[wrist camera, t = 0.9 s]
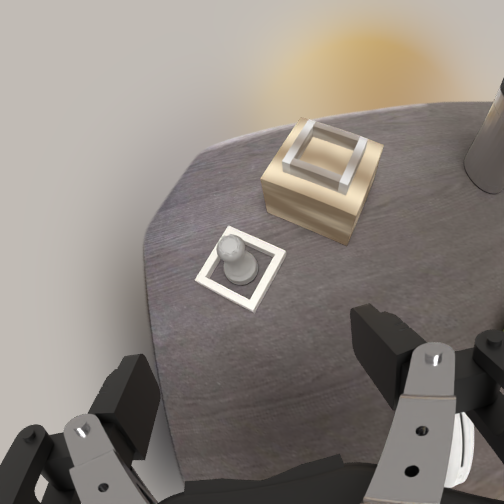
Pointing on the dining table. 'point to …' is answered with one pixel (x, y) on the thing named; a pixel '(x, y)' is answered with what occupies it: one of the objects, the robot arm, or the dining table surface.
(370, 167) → the birch stand
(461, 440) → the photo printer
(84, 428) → the robot arm
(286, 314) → the dining table surface
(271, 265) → the low collar
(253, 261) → the rook chess piece
